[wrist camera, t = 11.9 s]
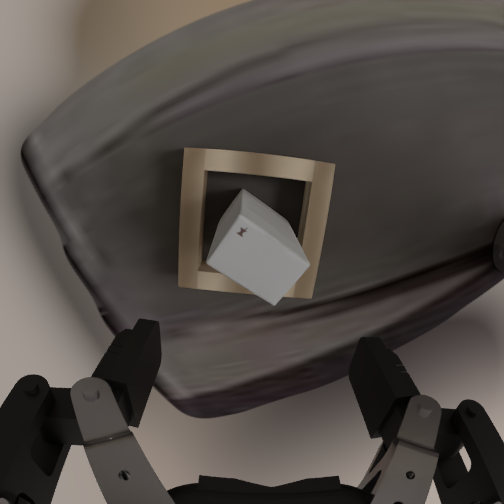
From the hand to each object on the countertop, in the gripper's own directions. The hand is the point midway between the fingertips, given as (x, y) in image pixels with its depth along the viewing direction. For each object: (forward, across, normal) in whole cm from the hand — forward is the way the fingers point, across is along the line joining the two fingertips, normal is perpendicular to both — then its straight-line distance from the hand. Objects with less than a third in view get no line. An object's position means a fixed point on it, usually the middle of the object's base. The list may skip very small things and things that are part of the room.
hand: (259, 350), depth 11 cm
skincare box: (+21, 0, 0) cm, 21 cm away
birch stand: (+21, 0, 0) cm, 21 cm away
